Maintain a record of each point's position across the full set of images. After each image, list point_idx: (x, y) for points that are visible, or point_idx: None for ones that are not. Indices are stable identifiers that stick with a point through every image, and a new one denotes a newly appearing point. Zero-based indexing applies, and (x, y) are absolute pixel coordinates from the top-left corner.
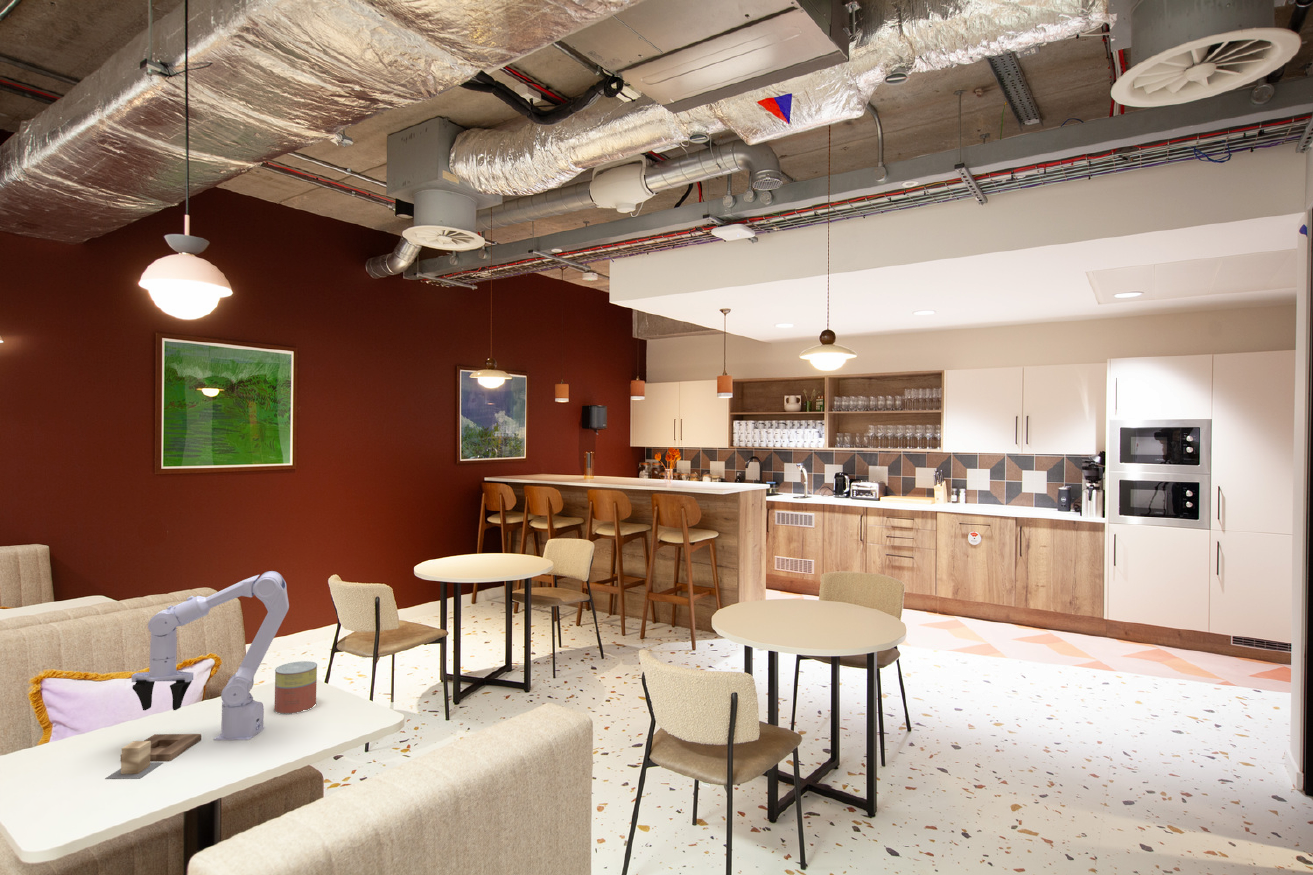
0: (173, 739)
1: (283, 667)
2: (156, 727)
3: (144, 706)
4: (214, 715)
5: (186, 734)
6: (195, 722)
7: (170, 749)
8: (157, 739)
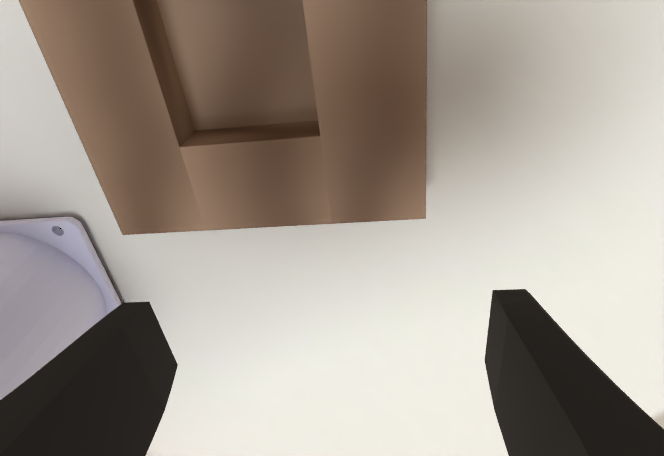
0: (220, 147)
1: None
2: None
3: (512, 320)
4: (342, 440)
5: (208, 224)
6: (373, 390)
7: None
8: (337, 140)
